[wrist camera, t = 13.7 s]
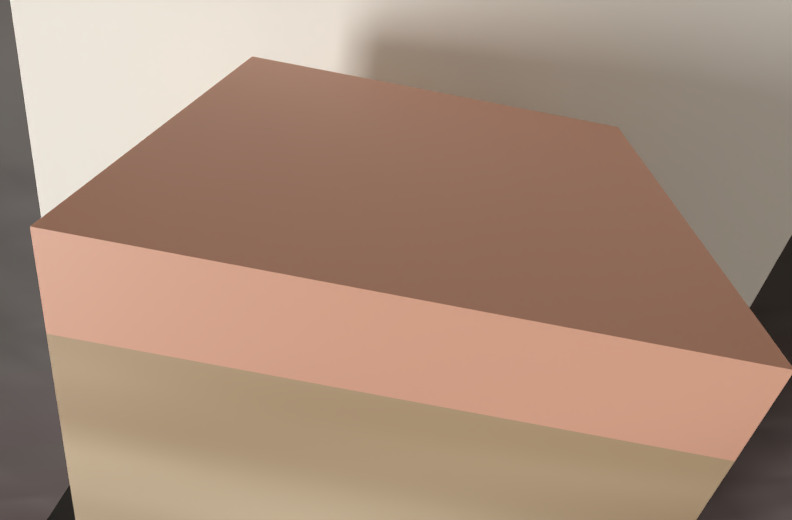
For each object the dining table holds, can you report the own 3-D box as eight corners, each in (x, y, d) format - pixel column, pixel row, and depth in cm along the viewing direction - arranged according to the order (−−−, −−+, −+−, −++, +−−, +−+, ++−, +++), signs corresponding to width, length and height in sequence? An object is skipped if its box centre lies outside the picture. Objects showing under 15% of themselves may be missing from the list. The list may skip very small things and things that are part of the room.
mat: (-9, -441, 7) (-59, -478, 6) (1007, -228, 7) (1065, -241, 7) (111, 579, 17) (97, 607, 16) (530, 650, 17) (534, 681, 17)
